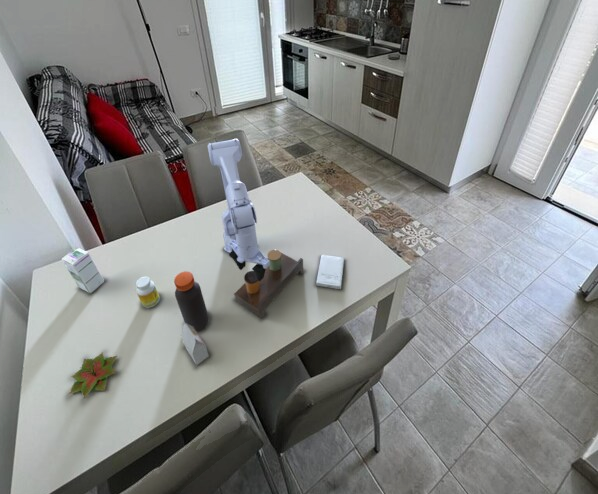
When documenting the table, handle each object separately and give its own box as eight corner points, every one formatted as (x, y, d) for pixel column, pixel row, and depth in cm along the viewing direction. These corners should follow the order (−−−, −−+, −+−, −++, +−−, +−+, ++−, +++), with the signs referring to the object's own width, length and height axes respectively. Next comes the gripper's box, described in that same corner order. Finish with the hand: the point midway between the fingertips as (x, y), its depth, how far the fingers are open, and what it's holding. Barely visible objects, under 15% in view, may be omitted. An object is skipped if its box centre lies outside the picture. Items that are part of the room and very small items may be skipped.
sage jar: (265, 267, 112) (264, 255, 109) (274, 258, 116) (273, 247, 112) (276, 273, 110) (275, 262, 107) (284, 264, 113) (283, 253, 110)
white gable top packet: (196, 365, 89) (189, 345, 84) (185, 347, 94) (177, 326, 88) (208, 356, 91) (202, 335, 86) (197, 338, 96) (190, 318, 90)
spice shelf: (235, 300, 106) (233, 287, 102) (278, 257, 121) (277, 245, 117) (261, 318, 100) (259, 306, 97) (303, 271, 115) (303, 259, 112)
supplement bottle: (141, 297, 107) (132, 278, 102) (158, 291, 109) (151, 272, 104) (142, 311, 103) (133, 291, 98) (160, 304, 105) (153, 284, 100)
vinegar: (188, 336, 96) (172, 293, 85) (183, 317, 101) (168, 274, 90) (211, 326, 99) (199, 282, 88) (205, 308, 104) (193, 265, 93)
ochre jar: (242, 289, 105) (241, 278, 102) (252, 279, 108) (251, 268, 105) (253, 296, 103) (251, 285, 100) (263, 286, 106) (262, 275, 103)
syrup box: (105, 281, 113) (89, 251, 105) (89, 294, 109) (72, 264, 100) (93, 275, 115) (77, 246, 107) (78, 288, 111) (60, 258, 103)
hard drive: (343, 260, 119) (340, 289, 109) (321, 257, 120) (316, 285, 110) (344, 257, 118) (341, 286, 108) (321, 254, 119) (316, 282, 109)
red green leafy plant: (109, 398, 83) (102, 389, 80) (59, 403, 82) (51, 394, 80) (126, 350, 93) (121, 341, 90) (82, 354, 92) (75, 345, 90)
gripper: (218, 238, 95) (225, 271, 103) (256, 260, 88) (260, 293, 95) (236, 225, 100) (241, 257, 107) (273, 244, 93) (276, 277, 100)
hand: (251, 273), depth 102 cm, fingers open, 7 cm apart
